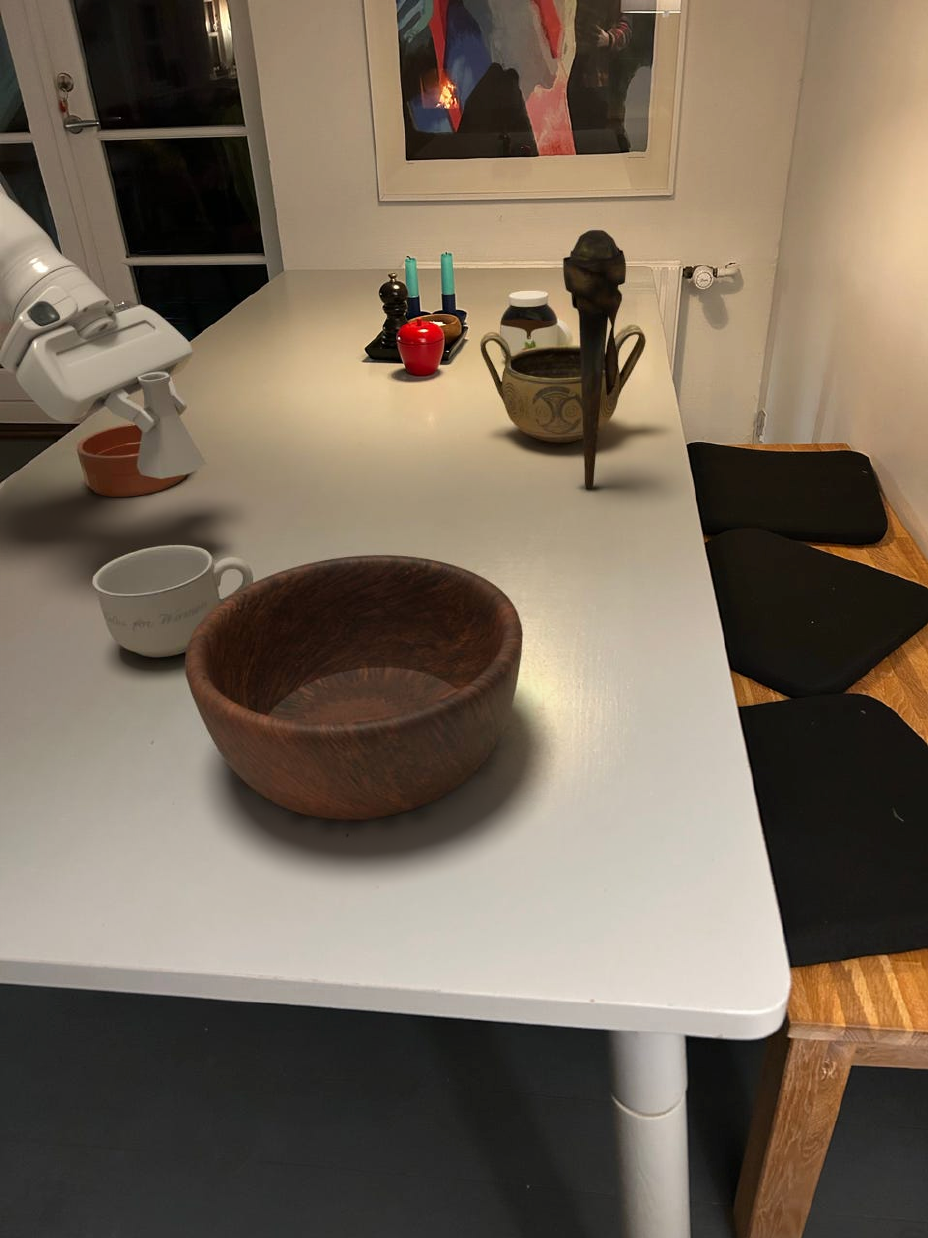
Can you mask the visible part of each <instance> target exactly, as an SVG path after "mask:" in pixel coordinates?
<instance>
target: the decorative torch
mask: <svg viewBox="0 0 928 1238" xmlns="http://www.w3.org/2000/svg"><path fill="white" fill-rule="evenodd" d="M562 270H563V271H562V272H563V281H564V282H563V283H564V287H565V291H567V292H568V293H570V295H571V304H572V305H571V306H572V308H573V309H576V310H577V313H578V325H579V326H578V328H579V346H580V357H581V385H582V412H583V461H584V462H583V463H584V486H585V489H592V488H593V487H594V483H595V468H596V467H595V466H596V458H597V457H596V456H597V445H598V435H599V430H598V425H599V414H600V403H601V392H602V380H603V369H604V358H605V379H606V392H607V395H609V394H610V393H611V391H612V390H613V388H614V385H615V381H616V376H617V369H618V366H619V356H618V357H617V351H616V345H615V324H616V319H617V315H618V312H619V309H620V306H621V304H622V301H623V293H622V292H621V290H620V289H619V286H621V285H624V284H625V283H626V274H627V263H626V256H625V253H624V250H622V249H620V248H619V247H618V246H617V244H616V242H615V239H614V238H613V237H612V236H611V235H610V234H608V232H606V231H605V230H603V229H591V230H588V231H586V232H584V233H583V234H581V235H579V237H578V239H577V241H576V243H575V244H574V247H573V249H572V250H571V251H570V255H569V256H566V257H563V258H562ZM609 323H610V326H611V327H610V329H609V333H608V325H609ZM607 334H609V335H608V337H607ZM605 351H606V356H605Z"/></svg>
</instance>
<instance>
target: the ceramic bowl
mask: <svg viewBox="0 0 928 1238" xmlns="http://www.w3.org/2000/svg"><path fill="white" fill-rule="evenodd" d="M632 336H638V338H637V340H636V342H635V344H634V346H633V348H632V350H631V352H630V353H629V355H628V357H627V359H626V361H625V363H624V364H623V366H622V368H621V370H620V366H619V365H618V369H617V376H616V381H615V385H614V388H613V390H612V391H611V393H610V394H609V395H607V392H606V379H605V358H604V369H603V380H602V392H601V403H600V414H599V425H598V431H600V430H601V429H602V428H603V427H604V426H605V425H606V424H607V423H608V422H609V421H610V420H611V418H612V416H613V415H614V413H615V410H616V408H617V406H618V401H619V397H620V395H621V393H622V390H623V389H624V387H625V385H626V383H627V382H628V380H629V378H630V377H631V374H632V372H633V371H634V370H635V367H636V365H637V364H638V362H639V360H640V357H641V356H642V354H643V353H644V349H645V347H646V341H647V339H646V335H645V333H644V332H643V330H642V329H641V327H640V326H638V325H636V324H627V325H626V326H624V327H622V328H621V329H620V330H619V332H618V333H617V334H616V335H615V336H614V339H615V345H616V351H617V357H618V358H619V356H620V355H619V354H620V350H621V348H622V346H623V345H624V343H626V341H627V340H628V339H629V338H630V337H632ZM490 341H492V342H495V343H496V344H497V345H498V346H499V347H500V349H501V348H502V350H503V351H504V353H505V355H506V359H505V361H504V368H503V371H502V376H501V378H500V375H499V373H498V371H497V369H496V367H495V365H494V363H493V361H492V359H491V357H490V355H489V352H488V350H487V347H486V345H487V344H488V343H489V342H490ZM480 352H481V355H482V358H483V360H484V362H485V364H486V367H487V368H488V371H489V374H490V376H491V378H492V380H493V383H494V385H495V389H496V391H497V393H498V395H499V397H500V399H501V400H502V403H503V405H504V407H505V411H506V413H507V415H508V418H509V419H510V421H511V422H512V423H513V424H514V426H516V428H518V429H519V430H520V431H522V432H523V433H525V434H527V435H528V436H529V437H531V438H534V439H537V440H539V441H543V442H549V443H553V444H567V443H573V442H577V441H580V440H582V439H583V412H582V385H581V357H580V345H574V344H572V345H569V346H568V345H556V346H543V347H536V348H531V349H526V350H523V351H520V352H517V353H515V354H513V355H512V356H511V353H510V349H509V346H508V344H507V342H506V341H505V339H504V338H503V337H502V336H501V335H500V333H498V332H495V331H489V332H487V333H485V334H484V335H483V337H482V338H481V339H480ZM605 356H606V350H605ZM583 440H584V439H583Z"/></svg>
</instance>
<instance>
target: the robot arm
mask: <svg viewBox="0 0 928 1238" xmlns="http://www.w3.org/2000/svg"><path fill="white" fill-rule="evenodd" d="M193 356H194V351H193V347H192V344H191V342H190V341H188V339H187V338H186V337H185V336H183V334H182V333H181V332H179V331H178V330H177V328H175V327H174V326H173V325H171V323H170V322H168V321H167V320H166V319H165V318H164V317H162V316H161V315H160V314H159V313H157V312H156V311H155V310H153V309H151V308H150V307H147V306H145V305H143V304H139V303H135V302H132V301H130V300H122V301H120V302H119V303H117V304H114V302H113V301H112V300H111V299H110V298H109V297H108V296H107V295H106V294H105V293H104V292H103V290H101V289H100V288H99V287H98V286H97V284H95V282H94V281H92V279H91V278H90V277H89V276H88V275H87V274H86V273H85V272H84V271H83V269H81V268H80V267H79V266H78V264H76V263H74V262H73V261H71V260H69V259H68V258H66V257H65V256H64V255H63V254H61V253H60V251H59V250H58V248H57V247H56V246H55V244H54V242H53V240H52V238H51V236H49V235H48V233H47V232H46V231H45V230H44V229H43V227H41V226H40V225H39V224H38V223H37V222H36V221H35V220H34V218H33V217H31V216H30V215H29V214H28V213H27V212H26V211H25V210H24V209H23V207H22V206H21V204H20V201H19V200H18V199H17V197H16V195H15V194H14V192H13V190H12V188H11V187H10V185H9V184H8V181H7V180H6V178H5V177H4V175H3V173H2V171H0V365H1V366H2V367H3V368H4V369H5V370H6V371H7V372H9V373H15V378H16V381H17V382H18V383H17V384H19V386H20V387H21V388H22V390H23V391H24V392H25V393H26V395H28V396H29V398H30V399H31V400H32V401H33V402H34V403H35V404H36V406H38V407H39V408H40V409H41V410H42V411H43V413H45V414H46V415H47V416H48V417H49V418H50V419H52V420H55V421H57V422H60V423H62V424H70V423H72V422H75V421H76V420H79V419H81V418H83V417H86V416H87V415H90V414H92V413H94V412H96V411H98V410H100V409H102V408H104V407H106V408H107V409H108V410H109V411H110V412H111V413H112V414H113V415H116V416H118V417H120V418H122V419H125V420H126V421H128V422H132V423H133V424H136V425H137V426H138V427H139V428H140V429H141V430H142V431H143V432H144V433H146V432H149V431H151V430H152V429H154V428H155V426H156V425H157V424H158V423H159V422H160V418H159V416H158V415H157V414H154V411H153V410H152V409H151V408H150V407H147V408H145V409H144V407H142V406H140V405H139V404H138V403H136V402H134V401H132V400H131V399H129V398H130V397H131V395H133V394H135V393H137V392H140V391H143V388H142V385H141V384H140V383H139V381H138V379H137V377H138V376H141V375H144V374H147V373H154V372H163V373H168V374H169V376H170V382H168V383H169V389H170V394H171V397H172V400H173V403H174V405H175V408H176V410H177V413H178V415H179V416H180V417H181V416H182V415H183V413H185V411H186V409H187V403H186V402H185V400H183V399H182V398H181V397H180V396H179V395H178V393H177V389H176V386H175V384H174V381H173V377H172V376H174V375H177V374H178V373H181V372H182V371H183V370H184V369H185V367H187V365H188V364H189V362H190V360H191V359H192V358H193Z"/></svg>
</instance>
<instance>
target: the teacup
mask: <svg viewBox="0 0 928 1238" xmlns="http://www.w3.org/2000/svg"><path fill="white" fill-rule="evenodd" d="M228 570H236V571H238V572H240V574H241V575H242V580H241V581H242V582H241V584H240V585H239V586H238V587H237V589H236V590H234V591H233V592H232V593H231V594H229V595H227V596H225V597H224V598H220V593H219V592H220V591H219V587H220V586H221V582H222V577H223V574H224V573H226V571H228ZM252 583H254V573H253V571H252V568H251V567H250V565H249V563H247V562H246V561H245V560H244V559H242V558H239V557H235V556H230V557H225V558H222V559H221V560H220V561H218V562H217V563H215V564H214V559H213V556H212V554H210V552H208V550H206V549H204V548H202V547H199V546H195V545H194V546H193V545H183V544H174V545H173V544H169V545H158V546H153V547H148V548H143V549H139V550H137V551H134V552H129V553H127V554H123V555H121V556H119V557H117V558H115V559H113V560H111V561H109V562H108V563H106V564H105V565H102V567H100V568H99V570H97V572H96V573H95V574H94V575H93V577H92V587H93V589H94V591H95V592H96V594H97V598H98V602H99V606H100V609H101V612H102V615H103V618H104V621H105V625H106V627H107V629H108V631H109V633H110V636H111V637H112V638H113V640H114V641H115V642H116V643H117V644H118V645H119V646H121V647H122V648H124V649H125V650H128V651H130V652H135V653H137V654H139V655H141V656H144V657H149V658H167V657H172V656H177V655H181V654H184V653H186V650H187V647H188V643H189V641H190V639H191V637H192V634H193V633H194V631H195V630H196V628H197V627H198V625H199V624H200V623H201V622H202V620H203V619H204V618H205V617H206V616H207V615H208V614H209V613H210V612H211V611H212V610H213V609H214V608H215V607H217V606H218V605H219V604H220V603H222V602H223V601H224V600H226V599H227V598H229V597H230V596H231V595H233V594H234V593H236V592H238V591H239V590H241V589H243V588H245V587H247V586H248V585H250V584H252Z"/></svg>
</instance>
